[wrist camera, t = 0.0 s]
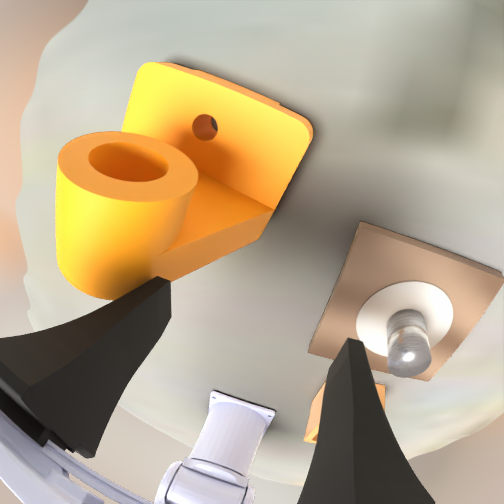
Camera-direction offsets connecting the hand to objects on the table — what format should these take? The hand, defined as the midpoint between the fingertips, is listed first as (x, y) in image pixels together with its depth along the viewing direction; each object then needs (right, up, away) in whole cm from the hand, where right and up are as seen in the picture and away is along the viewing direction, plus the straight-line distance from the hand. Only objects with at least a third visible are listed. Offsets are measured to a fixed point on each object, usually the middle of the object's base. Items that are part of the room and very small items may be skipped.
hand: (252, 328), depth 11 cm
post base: (+12, -2, +9) cm, 15 cm away
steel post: (+12, -2, +9) cm, 15 cm away
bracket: (-2, +10, +7) cm, 13 cm away
